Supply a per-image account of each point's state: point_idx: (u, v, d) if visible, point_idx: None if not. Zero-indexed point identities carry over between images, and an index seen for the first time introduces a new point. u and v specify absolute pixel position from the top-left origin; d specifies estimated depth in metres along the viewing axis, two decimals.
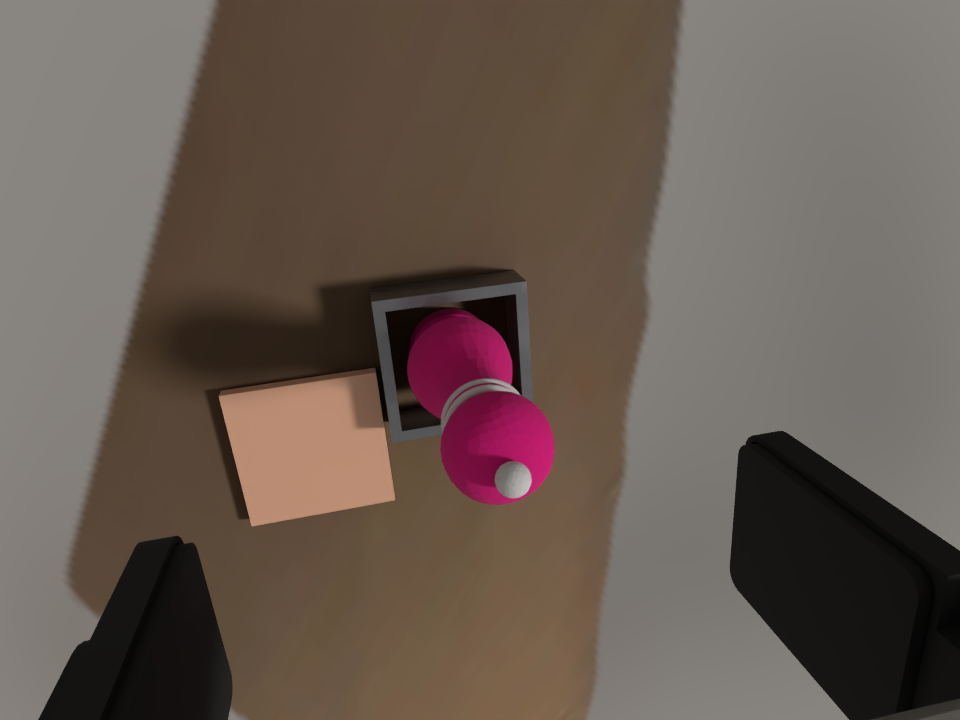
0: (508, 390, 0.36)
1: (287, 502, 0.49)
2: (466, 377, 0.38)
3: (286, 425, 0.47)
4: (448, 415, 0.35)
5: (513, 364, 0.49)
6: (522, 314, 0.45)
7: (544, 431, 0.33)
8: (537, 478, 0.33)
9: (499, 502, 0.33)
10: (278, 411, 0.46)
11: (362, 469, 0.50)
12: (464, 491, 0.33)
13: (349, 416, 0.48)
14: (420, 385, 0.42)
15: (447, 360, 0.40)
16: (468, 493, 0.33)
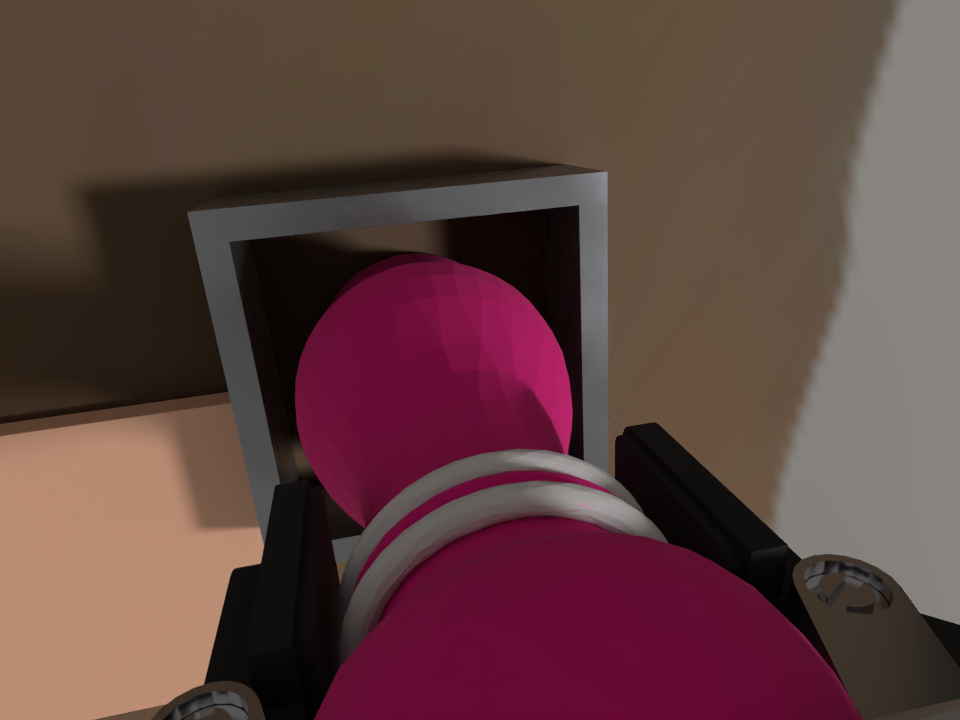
0: (611, 506, 0.08)
1: (47, 693, 0.22)
2: (440, 437, 0.11)
3: (21, 527, 0.20)
4: (355, 615, 0.08)
5: None
6: (593, 260, 0.18)
7: None
8: None
9: None
10: None
11: (219, 617, 0.22)
12: None
13: (179, 503, 0.20)
14: (315, 448, 0.15)
15: (386, 377, 0.13)
16: None
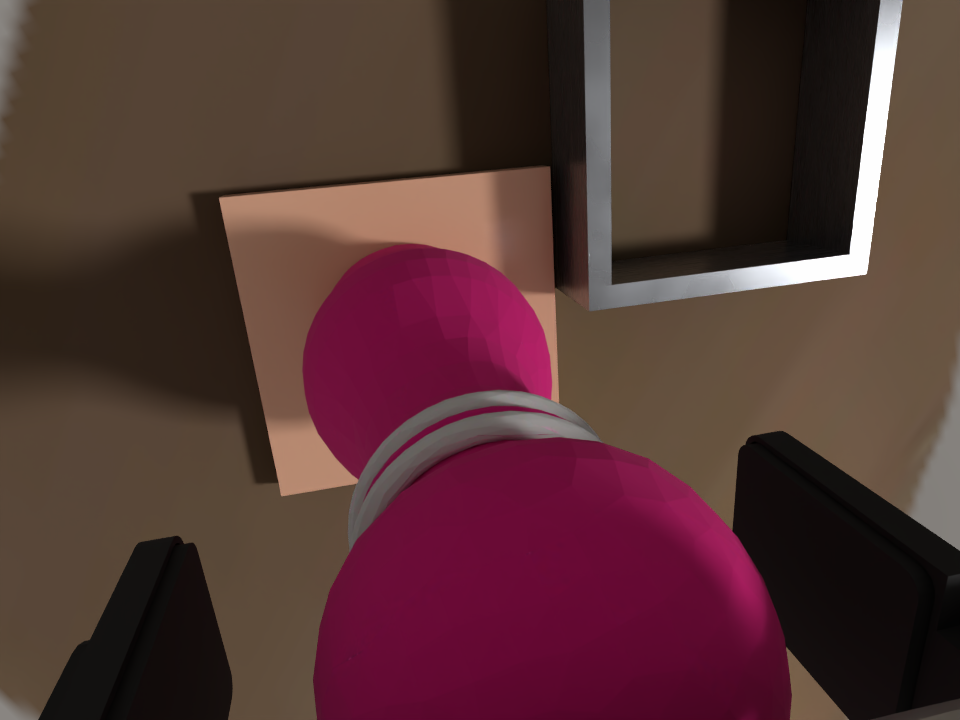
0: (575, 432, 0.10)
1: None
2: (434, 388, 0.13)
3: None
4: (365, 518, 0.10)
5: (816, 167, 0.24)
6: (888, 20, 0.20)
7: (772, 629, 0.07)
8: None
9: None
10: (346, 242, 0.22)
11: None
12: None
13: (489, 264, 0.23)
14: (322, 410, 0.16)
15: (388, 343, 0.15)
16: None
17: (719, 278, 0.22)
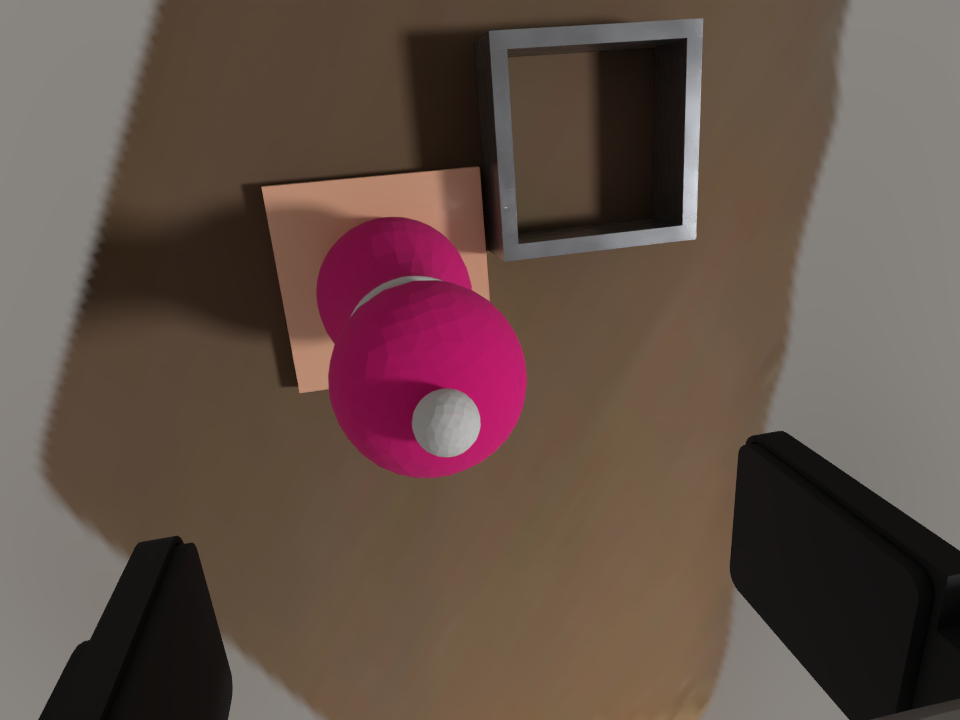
0: None
1: None
2: None
3: None
4: None
5: (664, 167, 0.35)
6: (693, 71, 0.32)
7: (508, 344, 0.18)
8: (494, 427, 0.18)
9: (427, 471, 0.19)
10: (344, 216, 0.33)
11: None
12: (365, 451, 0.18)
13: None
14: (329, 310, 0.28)
15: (366, 266, 0.26)
16: (371, 454, 0.18)
17: (592, 240, 0.33)
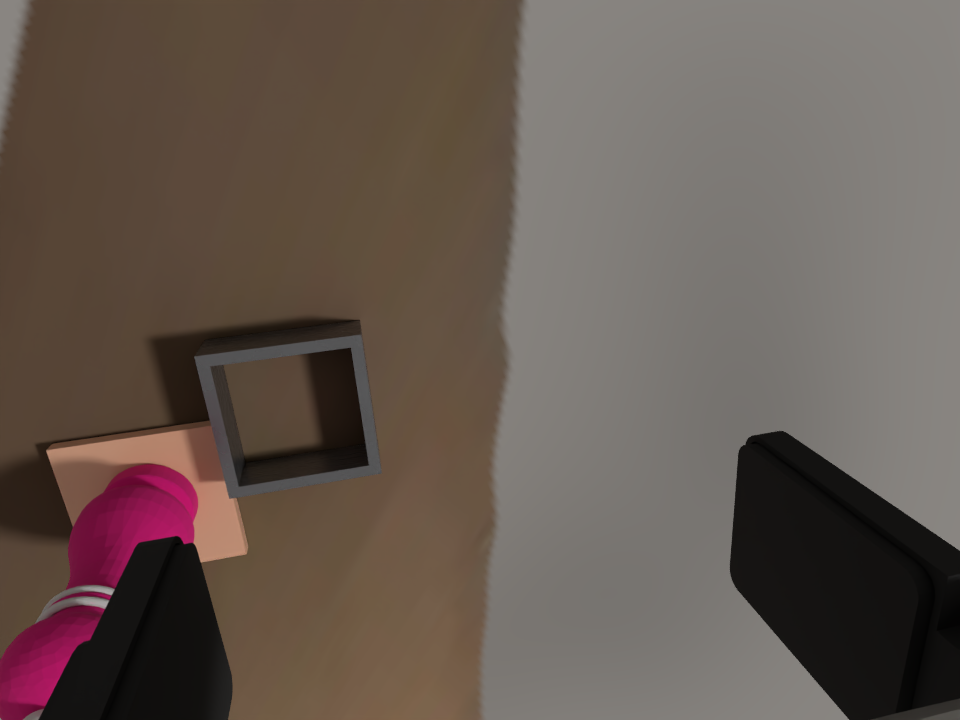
0: (102, 602, 0.34)
1: None
2: (85, 574, 0.36)
3: None
4: None
5: None
6: (359, 368, 0.44)
7: None
8: None
9: None
10: (112, 464, 0.45)
11: (208, 523, 0.48)
12: None
13: (190, 469, 0.46)
14: None
15: (86, 546, 0.38)
16: None
17: (297, 480, 0.46)
